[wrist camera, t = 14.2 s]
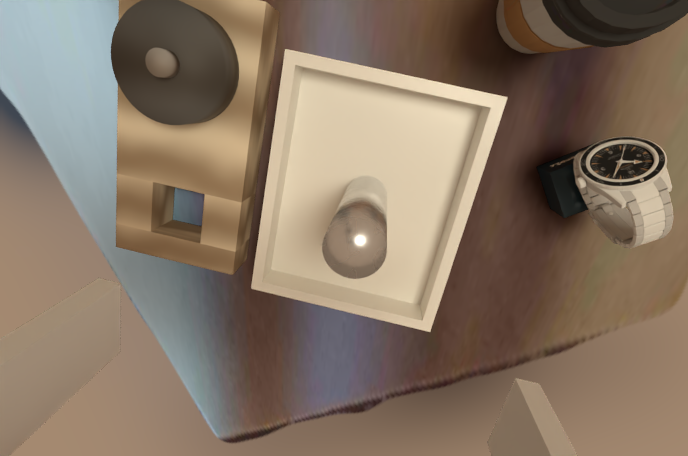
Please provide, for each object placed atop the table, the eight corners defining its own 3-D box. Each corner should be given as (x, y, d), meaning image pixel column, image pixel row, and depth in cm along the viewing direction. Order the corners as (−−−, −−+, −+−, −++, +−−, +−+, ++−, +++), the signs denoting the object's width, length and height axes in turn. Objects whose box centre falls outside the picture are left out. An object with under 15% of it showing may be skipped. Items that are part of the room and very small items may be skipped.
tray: (296, 54, 35) (285, 48, 31) (494, 97, 34) (507, 97, 30) (263, 271, 42) (250, 288, 38) (426, 310, 41) (430, 331, 37)
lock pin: (350, 171, 36) (328, 211, 23) (391, 180, 36) (393, 226, 23) (341, 211, 38) (316, 270, 24) (381, 220, 38) (378, 285, 24)
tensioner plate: (149, -15, 34) (78, -50, 26) (279, 13, 34) (247, -14, 26) (140, 233, 42) (84, 263, 34) (246, 259, 42) (214, 295, 34)
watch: (593, 120, 34) (685, 129, 23) (616, 202, 36) (710, 244, 25) (529, 147, 35) (588, 166, 25) (554, 225, 37) (619, 273, 26)
